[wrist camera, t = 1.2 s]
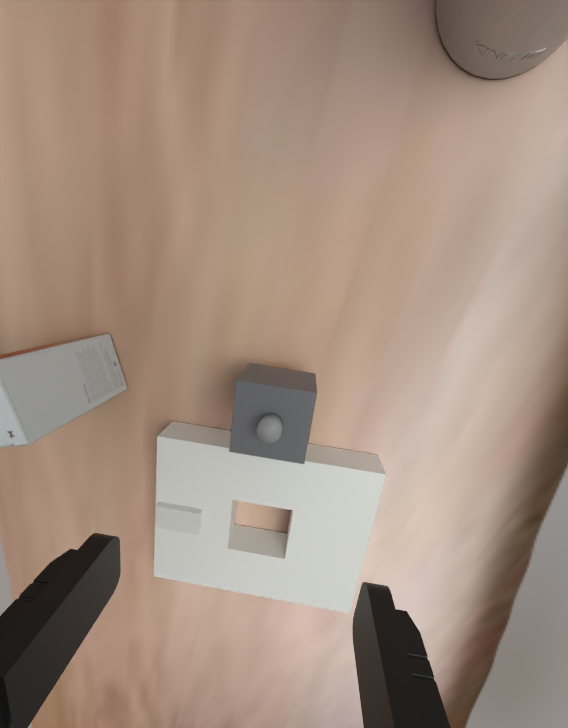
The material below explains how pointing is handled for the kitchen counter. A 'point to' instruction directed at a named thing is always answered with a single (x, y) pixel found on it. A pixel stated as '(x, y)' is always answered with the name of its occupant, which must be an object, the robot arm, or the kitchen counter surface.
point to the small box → (55, 386)
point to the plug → (273, 413)
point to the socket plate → (258, 546)
